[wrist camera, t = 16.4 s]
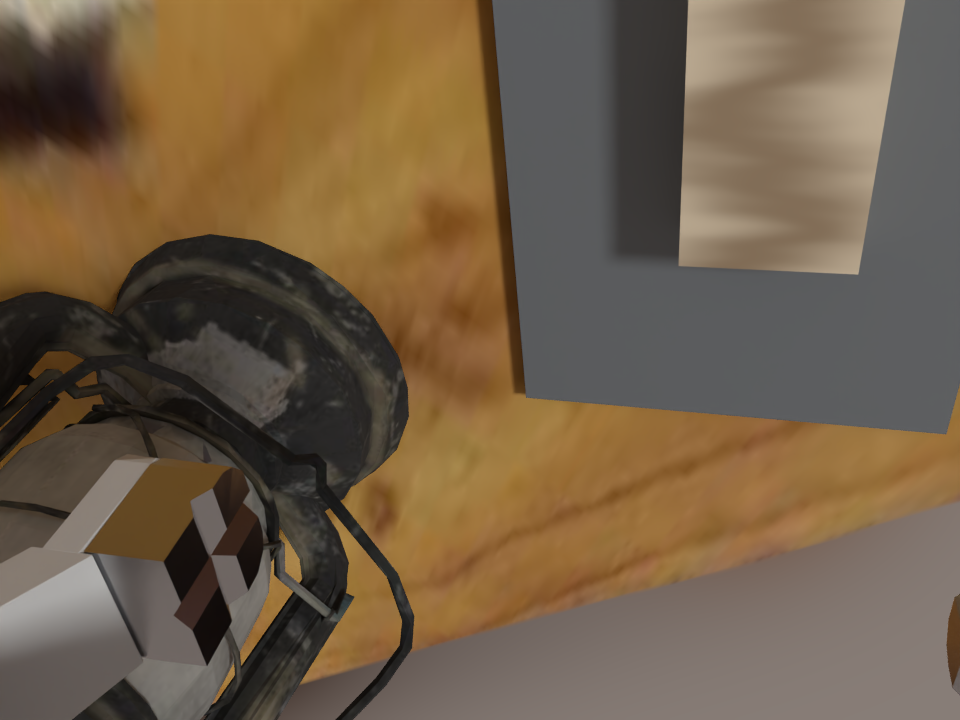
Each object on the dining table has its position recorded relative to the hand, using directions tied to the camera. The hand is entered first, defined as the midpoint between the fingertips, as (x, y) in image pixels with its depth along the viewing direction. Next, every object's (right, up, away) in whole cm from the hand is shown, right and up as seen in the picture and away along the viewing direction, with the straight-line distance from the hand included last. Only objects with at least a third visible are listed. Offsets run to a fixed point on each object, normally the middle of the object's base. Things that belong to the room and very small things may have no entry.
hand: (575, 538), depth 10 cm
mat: (+8, +9, +20) cm, 23 cm away
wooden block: (+8, +6, +20) cm, 22 cm away
